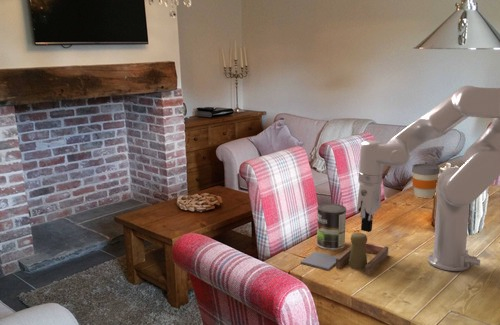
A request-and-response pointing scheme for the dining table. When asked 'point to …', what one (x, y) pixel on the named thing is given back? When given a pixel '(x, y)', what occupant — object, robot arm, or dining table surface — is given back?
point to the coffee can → (331, 226)
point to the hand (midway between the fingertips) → (366, 230)
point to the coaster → (320, 260)
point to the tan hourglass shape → (358, 251)
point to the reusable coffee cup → (424, 179)
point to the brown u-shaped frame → (371, 248)
